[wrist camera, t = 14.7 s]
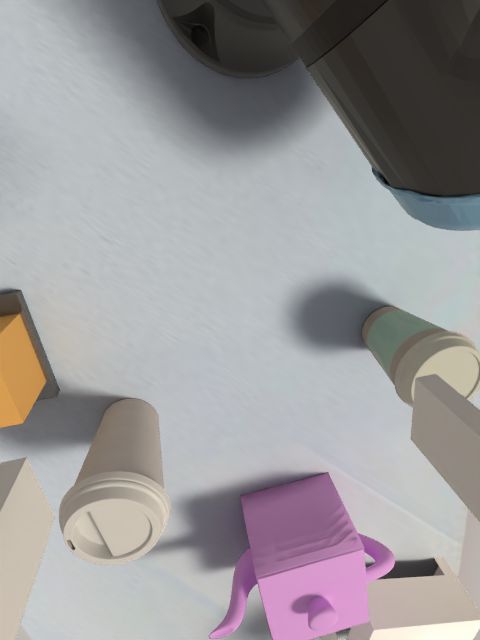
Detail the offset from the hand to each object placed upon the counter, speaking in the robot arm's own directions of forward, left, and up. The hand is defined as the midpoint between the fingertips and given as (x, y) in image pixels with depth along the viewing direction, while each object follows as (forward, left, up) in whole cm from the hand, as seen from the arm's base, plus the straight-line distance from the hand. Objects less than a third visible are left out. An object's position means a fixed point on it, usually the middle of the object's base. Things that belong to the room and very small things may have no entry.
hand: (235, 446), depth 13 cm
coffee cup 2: (+13, +21, -29) cm, 38 cm away
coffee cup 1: (+19, -11, -29) cm, 36 cm away
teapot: (+42, +6, -29) cm, 52 cm away
